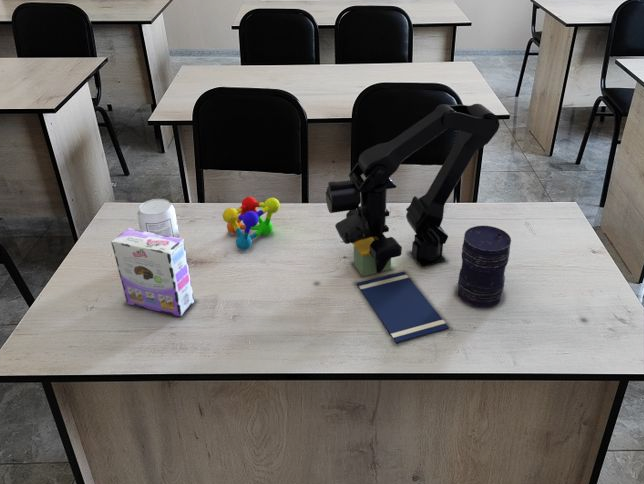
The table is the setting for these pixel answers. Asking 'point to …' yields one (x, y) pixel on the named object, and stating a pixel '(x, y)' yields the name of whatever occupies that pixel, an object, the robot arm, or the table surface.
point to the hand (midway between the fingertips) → (372, 262)
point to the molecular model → (250, 220)
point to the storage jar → (483, 266)
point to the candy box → (154, 271)
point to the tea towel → (401, 307)
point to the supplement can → (158, 218)
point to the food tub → (366, 257)
